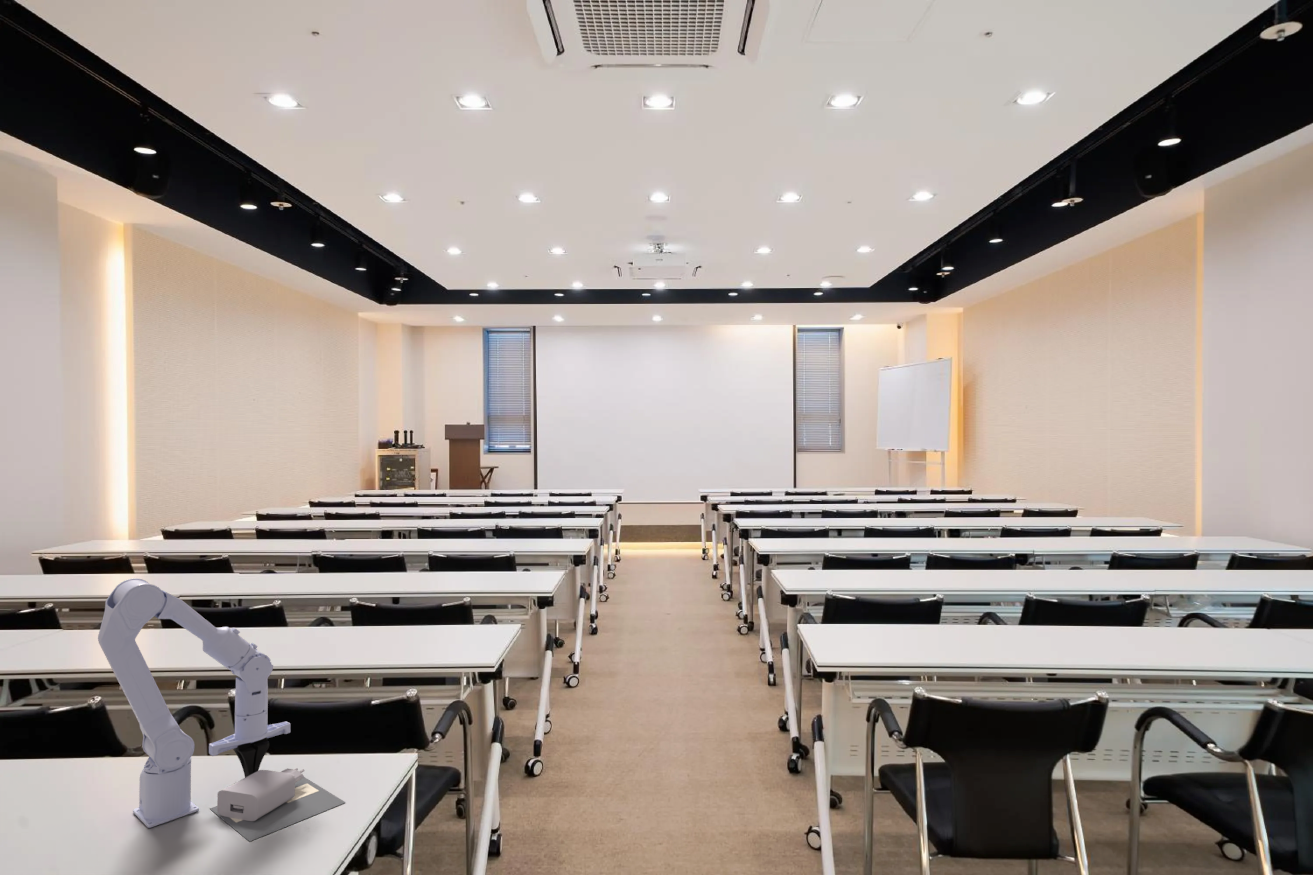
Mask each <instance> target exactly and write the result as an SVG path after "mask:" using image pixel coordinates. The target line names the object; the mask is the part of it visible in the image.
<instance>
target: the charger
mask: <svg viewBox="0 0 1313 875" xmlns="http://www.w3.org/2000/svg"><path fill="white" fill-rule="evenodd" d="M303 772H305V769H301V770H298V768H297V767H296V768H294V769H293V768H285V769H283V770H281V771H276V770H274V771H273V770H269V769H260V770H258V771H257V772H255V773H253V774H251V775H249V776H247V777H246V778H245V777H244V778H242V779H240V780H238V781H237V782H236V781H235V783H233V784H231V785H229V786H226V787H224V788H223V789H222V790H219V791H218V792H217V805H216V806H217V811H218V813H219V814H220V815H222V816H224V817H230V818H235V819H241V820H246V821H255V820H257V819H259V818H260V817H262V816H263V815H265V814H267V813H268V812H270V811H272V810H273V809H275V808H277V807H278V806H280V805H282V804H283V803H285V802H287V801H288V800H290V799H292V798H293V797H294V796H295V783H296V782H297V781H299V780H301V779H302V778H303V777H305V776H304V774H303Z"/></svg>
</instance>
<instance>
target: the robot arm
mask: <svg viewBox="0 0 1313 875" xmlns="http://www.w3.org/2000/svg"><path fill="white" fill-rule="evenodd" d="M104 604H105V605H104V613H103V616H102V617H103V618H102V620H101V624H100V628H99V632H98V635H97V640H98V644H99V646H100V648H101V651H102V652H103V654H104V656H105V658H106V660H107V662H108V664H109V667H110V668H111V670H112V672H113V673H114V674H113V675H114V676H115V678H116V680H117V682H118V683H119V686H120V688H121V690H122V691H123V694H124V696H125V697H126V700H127V701H128V703H129V706H130V708H131V710H132V712H133V714H134V716H135V717H136V720H137V722H138V724H139V730H140V731H141V733H142V737H143V738H142V745H141V746H142V750H143V751H144V753H145V754H146V755H147V756H148V758H147V759H146V762H145V763H144V766H143V768H142V770H141V772H140V775H139V789H138V790H139V791H138V792H139V795H138V796H139V797H138V801H139V803H138V804H139V806H138V807H135V808H134V809H132V813H133V814H134V815H135V816H136V817H137V818H138V820H140V821H141V822H142V824H144V825H145V826H146V827H147V828H149V829H150V828H153V827H156V826H158V825H163V824H165V823H168V822H171V821H173V820H176V819H179V818H181V817H184V816H187V815H188V816H189V815H190V814H193V813H195V812H198V811H199V810H200V808H199V806H198V805H196V804H195V803H194V802H193V801H192V800H191V799H192V797H191V793H192V789H191V788H192V786H191V785H192V756H193V754H194V752H195V748H196V747H195V746H196V745H195V741H194V739H193V738H192V736H190V735H188V734H186V733H185V732H184V731H183V729H181V727H180V725H179V724H178V721H177V720H176V719H175V717H174V716H173V715H172V713H171V711H170V709H169V706H168V705H167V703H166V700H165V698H164V697H163V695H162V693H161V690H160V688H159V687H158V685H157V682H156V680H155V679H154V676H153V675H152V672H151V670H150V668H149V666H148V664H147V662H146V660H145V658H144V655H143V654H142V652H141V650H140V648H139V645H138V644H137V641H136V639H137V637H138V635H139V633H140V632H141V630H142V629H143V627H144V626H145V625H146V624H147V623H148V622H150V620H151V619H153V618H154V617H155V618H157V619H159V620H171V621H173V622H175V623H176V624H177V625H179V626H181V627H182V628H184V629H185V630H186V631H188V632H190V633H191V634H192V635H194V636H195V637H196V638H198V639H200V640H201V641H202V651H203V653H205V654H207V656H209V657H211V658H212V659H213V660H215V661H216V662H218V663H219V664H220V665H221V666H223V667H225V669H228V670H229V671H230V672H231V673H232V674H233V675H235V676H236V677H235V691H234V733H233V734H231V735H228V736H226V737H224V738H222V739H219V740H217V741H213V742H211V743H208V754H209V755H210V756H212V757H215V756H218V755H219V754H221V753H224V752H227V751H230V750H233V751H234V753H235V754H236V756H237V758H238V760H239V762H240V765H241V767H242V770H243V771H242V772H243V775H244V778H246V777H247V776H249V775H251V774H253V773H255V772H257V771H259V769H260V767H261V764H262V761H263V759H264V757H265V755H266V753H267V751H268V749H269V748H270V741H268V739H269V738H273V737H275V736H279V735H283V734H284V735H287V734H290V733H291V723H290V722H288V721H282V722H278V723H272V724H268V708H269V707H268V706H269V705H268V704H269V696H268V695H269V692H268V691H269V686H268V682H269V681H268V678H269V677H270V675H271V674H272V672H273V669H274V664H272V661H271V658H270V657H269V655H266V654H265V653H263V652H261V651H260V650H258V645H257V644H255V643H253V642H251V643H250V642H248V641H247V640H246V639H245V638H243V637H242V636H241V635H239V634H240V633H241V631H240V630H238V628H236V627H232V628H230V627H229V626H222V627H216V626H215V625H213V624H212V623H211V622H210V621H209V620H207V619H205V618H204V617H203V616H202V615H201V614H200V613H198V612H197V611H196V610H195V609H193V607H192V606H190V605H188V604H187V603H186V602H185V601H183V599H181V598H180V597H177V596H175V595H173V594H172V593H171V594H170V593H168V592H166V591H165V590H162V589H161V588H160V587H159V586H157V585H155V584H151V583H149V582H148V581H146V580H144V579H143V578H137V577H136V578H135V577H134V578H128V579H126V580H123V581H122V582H119V584H117V585H116V586H115V588H114V589H113V590H112V591H111V593H109V595H108V597H107V598H106V599H105V603H104Z"/></svg>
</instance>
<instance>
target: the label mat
mask: <svg viewBox="0 0 1313 875" xmlns="http://www.w3.org/2000/svg"><path fill="white" fill-rule="evenodd" d="M346 803H347V802H346V801H344V800H343V799H341V798H339V797H338V796H336V795H335V794H333V793H331V792H329V791H328V790H327V789H325V788H323V787H322V786H320V785H318V784H316V783H315V782H314V781H311V780H310V779H309V778H306V777H305V776H304V777H303V778H302V779H301V780H299V781H297V782H296V783H295V796H294V797H293V798H292V799H290V800H288V801H287V802H285V803H283V804H282V805H280V806H278V807H277V808H275V809H273V810H272V811H270V812H268V813H267V814H265V815H263V816H262V817H260V818H259V819H257V820H255V821H246V820H241V819H235V818H230V817H224V816H222V815H220V814H219V813H218V811H217V805H216V806H212V807H210V808H209V810H210V811H212V812H213V813H214V815H215V814H216V815H217V816H218V817H219V818H220V819H221V820H223V822H224V823H226V824H227V825H229V827H231V828H232V829H233V830H235V831H236V832H237V833H238V834H239V835H241V836H242V837H243V838H244V839H245V840H246V841H248V842H249V843H250V842H253V841H255V840H257V839H260V838H262V837H264V836H267V835H270V834H272V833H274V832H277V831H279V830H282V829H285V828H286V827H287V828H288V827H289V826H292V825H295V824H297V823H300V822H301V821H304V820H307V819H309V818H312V817H314V816H316V815H319V814H322V813H324V812H327V811H329V810H332V809H334V808H337V807H338V806H341V805H344V804H346Z"/></svg>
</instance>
